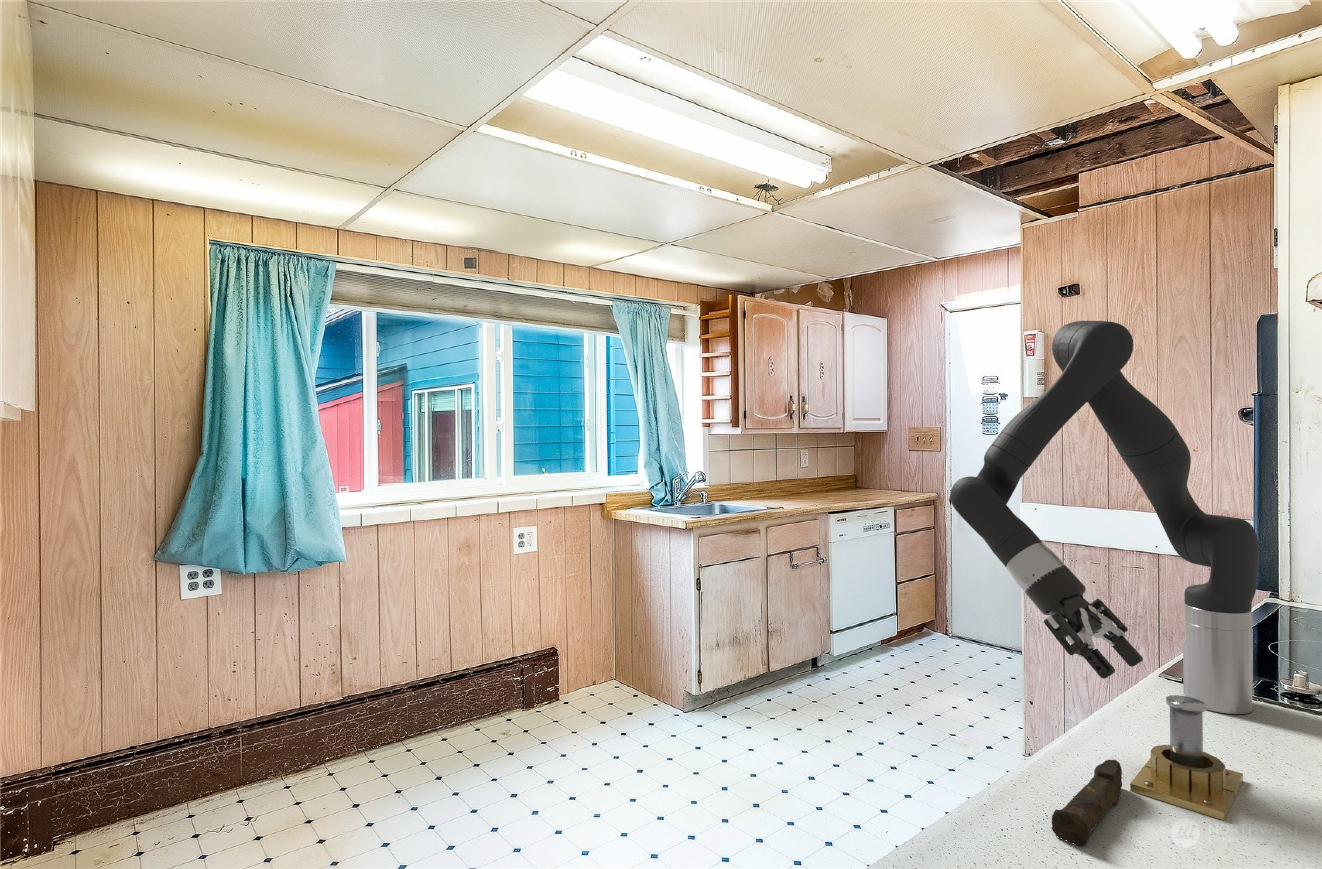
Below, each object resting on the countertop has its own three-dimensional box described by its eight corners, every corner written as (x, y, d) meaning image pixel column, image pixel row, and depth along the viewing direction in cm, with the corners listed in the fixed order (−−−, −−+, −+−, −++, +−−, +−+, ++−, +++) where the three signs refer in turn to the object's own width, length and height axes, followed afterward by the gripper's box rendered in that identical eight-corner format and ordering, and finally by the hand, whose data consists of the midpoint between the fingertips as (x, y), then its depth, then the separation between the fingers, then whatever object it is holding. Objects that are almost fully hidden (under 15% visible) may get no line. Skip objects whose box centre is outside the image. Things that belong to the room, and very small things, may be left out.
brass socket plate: (1156, 756, 104) (1156, 731, 104) (1243, 780, 97) (1242, 753, 97) (1130, 790, 95) (1130, 762, 95) (1223, 820, 87) (1223, 790, 87)
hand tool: (1087, 853, 82) (1086, 814, 82) (1050, 838, 85) (1050, 800, 85) (1142, 797, 94) (1142, 763, 93) (1108, 785, 97) (1108, 752, 97)
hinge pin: (1159, 769, 98) (1159, 694, 98) (1193, 770, 98) (1193, 695, 98) (1178, 785, 94) (1178, 707, 94) (1214, 787, 93) (1213, 708, 93)
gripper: (1036, 570, 105) (1120, 666, 96) (1084, 558, 113) (1166, 646, 104) (1003, 598, 110) (1080, 693, 100) (1051, 585, 118) (1127, 672, 108)
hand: (1124, 669), depth 102 cm, fingers open, 8 cm apart
